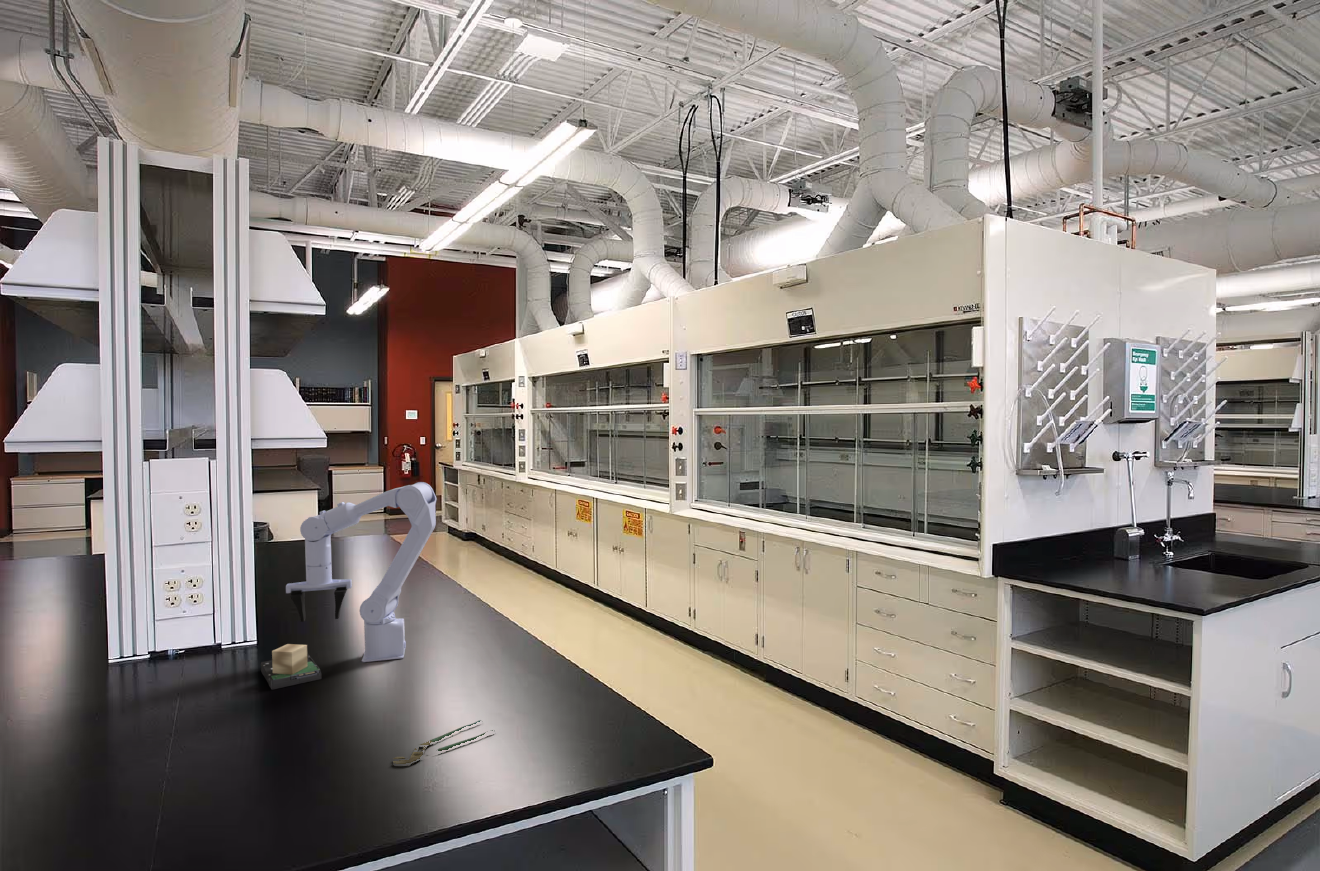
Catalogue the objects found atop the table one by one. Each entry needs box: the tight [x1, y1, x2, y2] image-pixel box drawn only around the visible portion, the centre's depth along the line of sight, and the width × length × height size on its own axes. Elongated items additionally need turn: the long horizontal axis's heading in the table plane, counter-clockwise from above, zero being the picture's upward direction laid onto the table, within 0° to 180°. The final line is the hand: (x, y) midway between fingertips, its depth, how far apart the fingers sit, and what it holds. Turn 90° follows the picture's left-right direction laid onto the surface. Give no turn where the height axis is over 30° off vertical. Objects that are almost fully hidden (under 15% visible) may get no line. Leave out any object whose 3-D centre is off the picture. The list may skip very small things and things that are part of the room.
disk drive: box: [260, 653, 322, 690], centre depth 166 cm, size 10×3×15 cm
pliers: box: [392, 719, 494, 764], centre depth 130 cm, size 20×6×1 cm, turn 136°
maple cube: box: [271, 643, 308, 674], centre depth 163 cm, size 5×5×5 cm
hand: (320, 619), depth 177 cm, fingers open, 7 cm apart
